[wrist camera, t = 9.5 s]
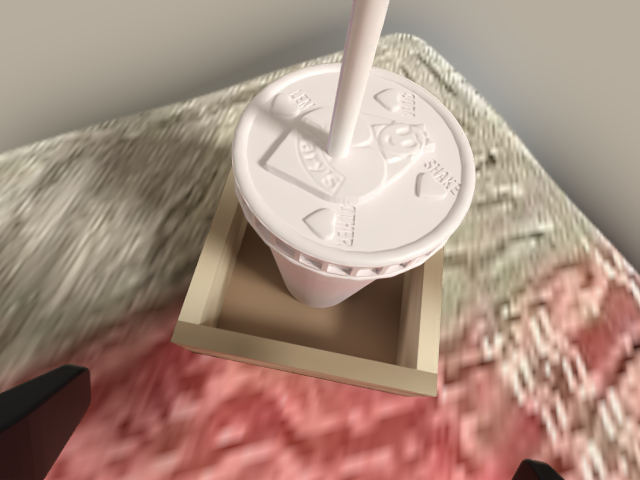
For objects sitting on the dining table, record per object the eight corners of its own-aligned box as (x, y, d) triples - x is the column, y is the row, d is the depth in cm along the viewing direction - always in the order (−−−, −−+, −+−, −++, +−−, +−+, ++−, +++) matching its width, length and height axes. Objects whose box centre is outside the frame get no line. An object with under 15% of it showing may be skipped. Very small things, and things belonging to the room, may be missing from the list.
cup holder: (407, 396, 17) (436, 396, 13) (192, 352, 16) (170, 341, 13) (422, 208, 21) (447, 173, 17) (250, 172, 21) (243, 131, 17)
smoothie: (242, 228, 18) (157, -150, 6) (359, 203, 20) (502, -152, 7) (272, 354, 16) (237, 188, 3) (402, 316, 17) (729, 94, 5)
